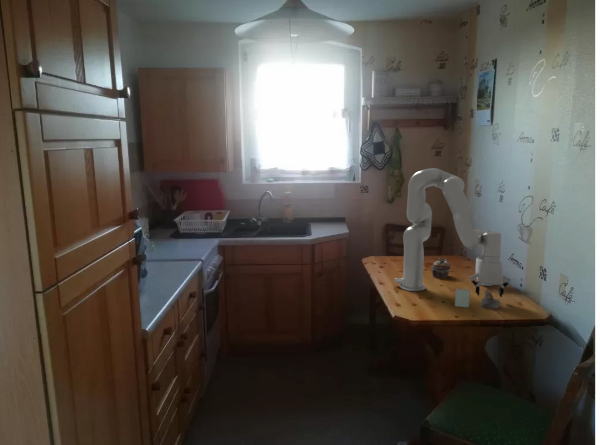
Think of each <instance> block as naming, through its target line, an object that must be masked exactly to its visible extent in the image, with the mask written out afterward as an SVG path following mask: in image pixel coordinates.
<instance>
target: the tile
mask: <svg viewBox="0 0 600 445" xmlns="http://www.w3.org/2000/svg"><path fill="white" fill-rule="evenodd" d="M454 292H455V293H454V307H457V308H460V307H461V308H469V309H470V298H471V297H470V296H471V290H470V288H459V287H455V291H454Z"/></svg>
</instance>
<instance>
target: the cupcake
mask: <svg viewBox="0 0 600 445" xmlns="http://www.w3.org/2000/svg"><path fill="white" fill-rule="evenodd" d="M450 266H451V265H450V263H449V262H448V260H447V258H446V257H445V258H440V257H439V258H438V259H437V260H436V261H434V262H433V265H432V266H431V274H432V277H433V278H435V279H448V277H449V273H450V271H451V267H450Z"/></svg>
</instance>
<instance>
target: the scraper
mask: <svg viewBox="0 0 600 445" xmlns="http://www.w3.org/2000/svg"><path fill="white" fill-rule="evenodd" d="M483 294H484V296H483V298H481V308H484V309H495V308H500V299H498V298H497V299H496V298H494V295H493V294H492V291H491V290H490V289H484V293H483Z"/></svg>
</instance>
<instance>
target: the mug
mask: <svg viewBox="0 0 600 445" xmlns="http://www.w3.org/2000/svg"><path fill="white" fill-rule="evenodd" d="M481 261H482V260H481V259H479V257H476V259H475V274H477V273H478V272H479V266H480V262H481ZM475 279H476V280H477V281H478V277H476V278H475ZM477 281H476V282H477ZM479 286H483V287H491V286H493V285H491V284H480V285H479Z"/></svg>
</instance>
